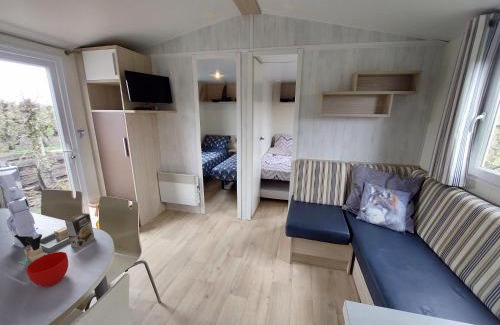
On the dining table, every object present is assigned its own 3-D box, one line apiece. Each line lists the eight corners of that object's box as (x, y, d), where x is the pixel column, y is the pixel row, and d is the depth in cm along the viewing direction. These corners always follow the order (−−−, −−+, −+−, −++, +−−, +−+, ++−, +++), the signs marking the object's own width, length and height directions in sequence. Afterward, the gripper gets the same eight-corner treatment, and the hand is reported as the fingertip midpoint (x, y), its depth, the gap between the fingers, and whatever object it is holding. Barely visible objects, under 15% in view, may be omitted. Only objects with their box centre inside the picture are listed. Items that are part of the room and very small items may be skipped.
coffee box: (80, 248, 114) (73, 222, 110) (70, 247, 116) (63, 220, 111) (95, 238, 123) (89, 213, 119) (86, 237, 124) (80, 212, 120)
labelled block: (27, 260, 105) (24, 250, 103) (39, 254, 109) (36, 244, 108) (32, 262, 103) (29, 252, 102) (44, 256, 108) (41, 246, 106)
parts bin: (34, 247, 116) (33, 242, 115) (63, 233, 128) (62, 228, 128) (50, 253, 111) (48, 248, 110) (79, 237, 124) (78, 233, 123)
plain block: (56, 240, 121) (53, 230, 119) (65, 235, 125) (63, 226, 124) (61, 241, 119) (58, 232, 118) (70, 237, 124) (68, 228, 122)
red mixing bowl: (66, 261, 105) (61, 244, 102) (75, 279, 94) (70, 260, 92) (29, 277, 95) (23, 259, 93) (35, 298, 85) (28, 278, 82)
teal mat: (18, 263, 104) (18, 262, 104) (41, 251, 112) (41, 251, 112) (29, 268, 101) (29, 267, 101) (52, 256, 109) (51, 255, 109)
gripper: (43, 221, 102) (50, 245, 106) (26, 216, 107) (33, 239, 111) (24, 229, 96) (32, 255, 99) (6, 223, 101) (15, 247, 104)
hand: (32, 247), depth 105 cm, fingers open, 7 cm apart
